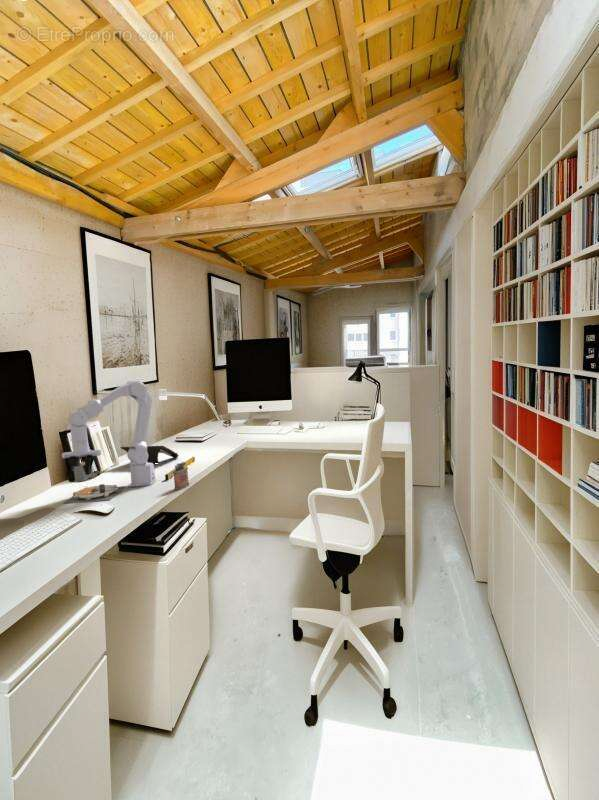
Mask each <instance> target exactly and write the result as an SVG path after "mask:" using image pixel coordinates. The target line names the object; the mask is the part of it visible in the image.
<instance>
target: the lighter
mask: <svg viewBox="0 0 599 800" xmlns="http://www.w3.org/2000/svg"><path fill="white" fill-rule="evenodd" d="M185 462H186V461H182V462H180V463H176V465H174V469H176V470H175V471H173V474H174V477H173V481H174V491H181V490H183V489H185V488H187V487H189V486H190V482H189V472H188V470H189V469H188V468H189V467H184V465H186V464H185Z"/></svg>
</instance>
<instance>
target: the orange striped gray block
mask: <svg viewBox="0 0 599 800" xmlns="http://www.w3.org/2000/svg"><path fill="white" fill-rule="evenodd" d="M73 474H74V482H77V483H78V482H85V481H86V480H88V479H90V478H92V477H93V476H94V474H93V467H92V468H91V474H89V475H87V472H86V465H85V461H80V464H77V465H76V466H74V468H73Z"/></svg>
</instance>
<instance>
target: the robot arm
mask: <svg viewBox="0 0 599 800" xmlns="http://www.w3.org/2000/svg"><path fill="white" fill-rule="evenodd" d="M127 396H129V397H132V398H133V399H134V400H135V401H136V403H137V404H138V407H137V408H138V409H137V414H136V419H135V427H134V434H133V439H132V442H131V443H130V446H129V447H130V449H129V450H128V452H127V458H128V460H129V461H130V462H129V471H130V472H129V473H130V481H131V483H130V484H129V485H128V486H127V487H130V488H131V487H142V486H144V487H145V486H152V485H153V483H155V482H156V481H157V479H156V472H155V466H154V465H155V464H153V463H148V462H147V460H148V453H147V446H148V445H147V444H148V443H147V437H148V432H149V431H148V430H149V423H150V415H151V412H152V411H151V409H152V404H153V401H152V398H151V397H152V396H151V395H150V393H149V390H148V386H146V385H145V383H143V382H142V381H139V380H136V381H135V380H130V381H127V382H126V383H123V384H121V385H119V386H117V387H116V388H115V389H113V390H112V391H110V392H109V393H107V394H106V395H104V396H103V397H101V398H100V399H89V400H88V401H87V403H85V404H84V405H82V406H79V407H76V409H77V410H72V411H70V413H69V414H68V416H67V421H68V423H69V424H70V436H71V437H70V438H71V445H72V451H67V452H63V453H61V457H62V459H67V458H68V462H69V464H71V466H72V467H73V469H74V466H76V465H77V464H80V463H81V458H82V457H83V462H85V465H86V472H87V475H89V474H91V468H92V469H93V463H94V460H95V459H96V456H97V457H98V456H99V457H100V456H102V451H101V449H94V450H93V449H90V446H89V445H90V444H89V439H88V430H87V429H88V428H87V425H86V424H87V422H88V420H89V421H90V420H91V419H92V418H94V417H95V416H97V415H98V414H100V413H102V412H103V411H104V408H105V406H107V405H109V404H110V403H112V402H114V401H116V400H117V399H119V398H121V397H127Z"/></svg>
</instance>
